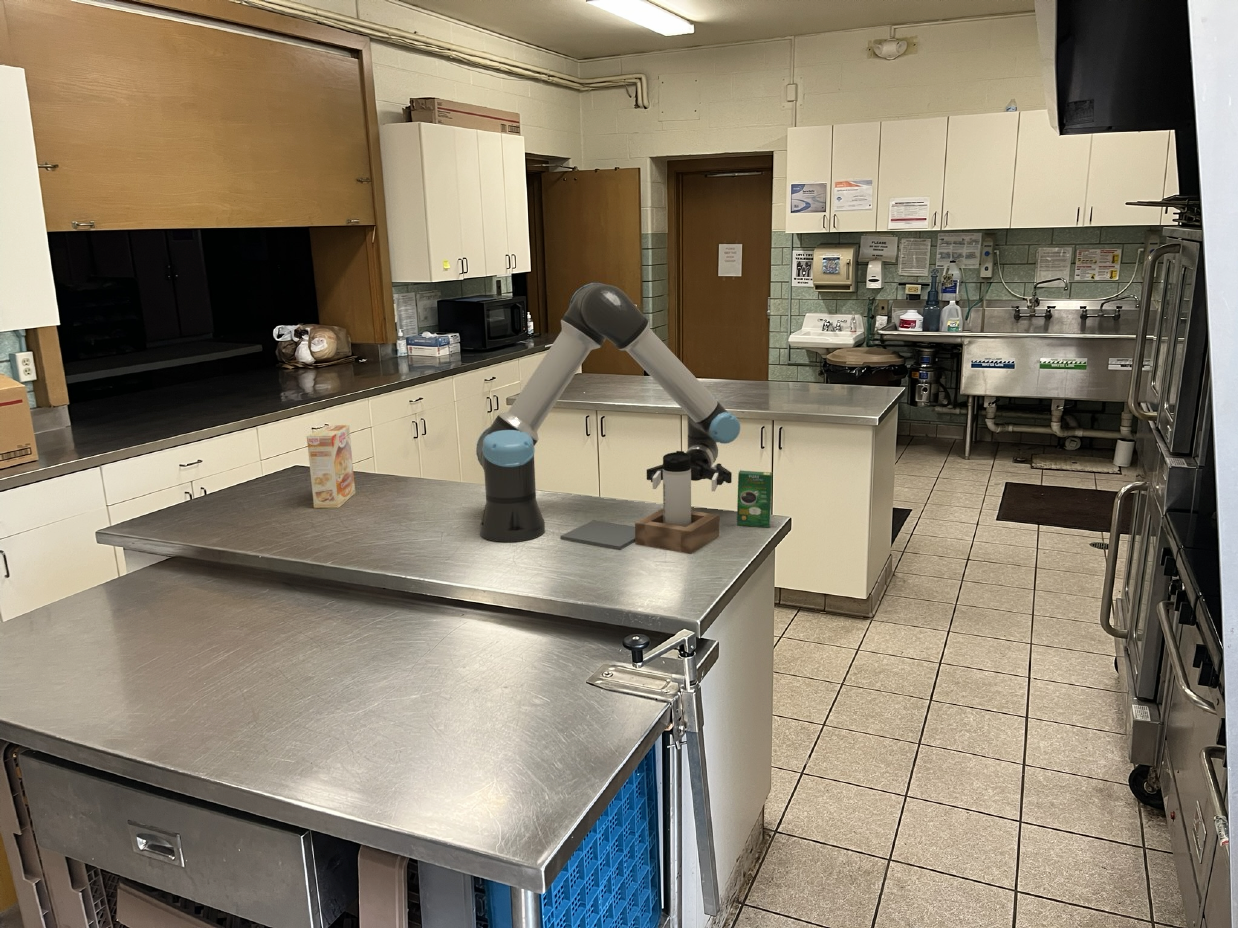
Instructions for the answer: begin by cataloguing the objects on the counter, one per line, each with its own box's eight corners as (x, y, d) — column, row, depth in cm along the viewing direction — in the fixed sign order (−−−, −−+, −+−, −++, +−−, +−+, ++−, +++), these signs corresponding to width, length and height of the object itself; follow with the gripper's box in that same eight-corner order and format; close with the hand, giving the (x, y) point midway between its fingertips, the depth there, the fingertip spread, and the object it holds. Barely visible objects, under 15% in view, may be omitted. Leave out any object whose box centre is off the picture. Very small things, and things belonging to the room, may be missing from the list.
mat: (560, 539, 202) (560, 535, 202) (593, 523, 214) (593, 519, 213) (619, 549, 194) (619, 546, 194) (651, 532, 205) (651, 529, 205)
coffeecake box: (339, 508, 232) (332, 435, 227) (312, 508, 232) (304, 436, 227) (356, 493, 246) (350, 424, 242) (331, 493, 247) (324, 425, 242)
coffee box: (772, 524, 209) (773, 471, 206) (770, 528, 206) (771, 474, 203) (738, 522, 211) (738, 469, 208) (736, 526, 209) (736, 472, 206)
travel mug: (694, 536, 202) (694, 451, 197) (687, 545, 196) (686, 458, 191) (668, 534, 204) (667, 450, 199) (660, 543, 198) (659, 456, 193)
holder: (635, 544, 197) (634, 522, 196) (665, 527, 209) (665, 507, 208) (691, 553, 190) (691, 531, 189) (719, 535, 202) (719, 514, 201)
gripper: (746, 479, 219) (738, 502, 199) (648, 475, 225) (630, 498, 205) (746, 449, 217) (738, 470, 197) (647, 447, 223) (629, 466, 203)
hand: (683, 484), depth 201 cm, fingers open, 13 cm apart
